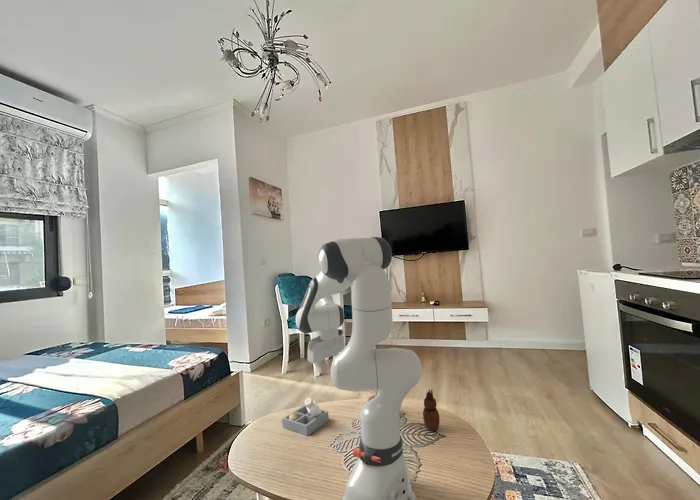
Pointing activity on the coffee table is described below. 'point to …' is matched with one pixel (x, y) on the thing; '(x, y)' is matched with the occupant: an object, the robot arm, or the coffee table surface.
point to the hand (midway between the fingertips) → (327, 367)
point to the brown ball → (294, 416)
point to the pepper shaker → (312, 408)
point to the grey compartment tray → (305, 421)
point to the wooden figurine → (430, 412)
